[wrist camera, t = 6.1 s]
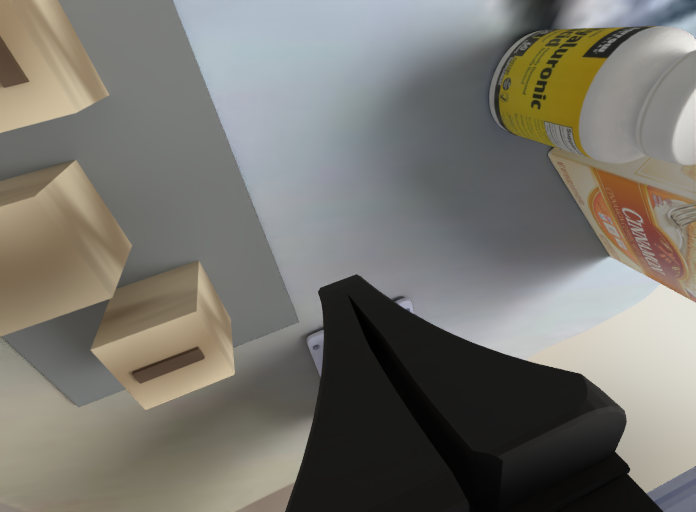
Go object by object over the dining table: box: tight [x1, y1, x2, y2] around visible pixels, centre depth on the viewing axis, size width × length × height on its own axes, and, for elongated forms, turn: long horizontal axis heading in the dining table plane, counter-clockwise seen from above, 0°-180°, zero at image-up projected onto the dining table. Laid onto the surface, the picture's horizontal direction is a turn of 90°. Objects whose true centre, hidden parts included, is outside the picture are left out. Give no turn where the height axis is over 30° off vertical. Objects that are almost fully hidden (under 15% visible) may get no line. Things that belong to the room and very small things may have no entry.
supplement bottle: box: [489, 26, 696, 165], centre depth 17 cm, size 5×5×10 cm
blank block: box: [0, 160, 132, 337], centre depth 14 cm, size 4×4×4 cm
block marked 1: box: [90, 261, 235, 410], centre depth 18 cm, size 4×4×5 cm
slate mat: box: [0, 0, 299, 407], centre depth 17 cm, size 22×14×1 cm, turn 12°
